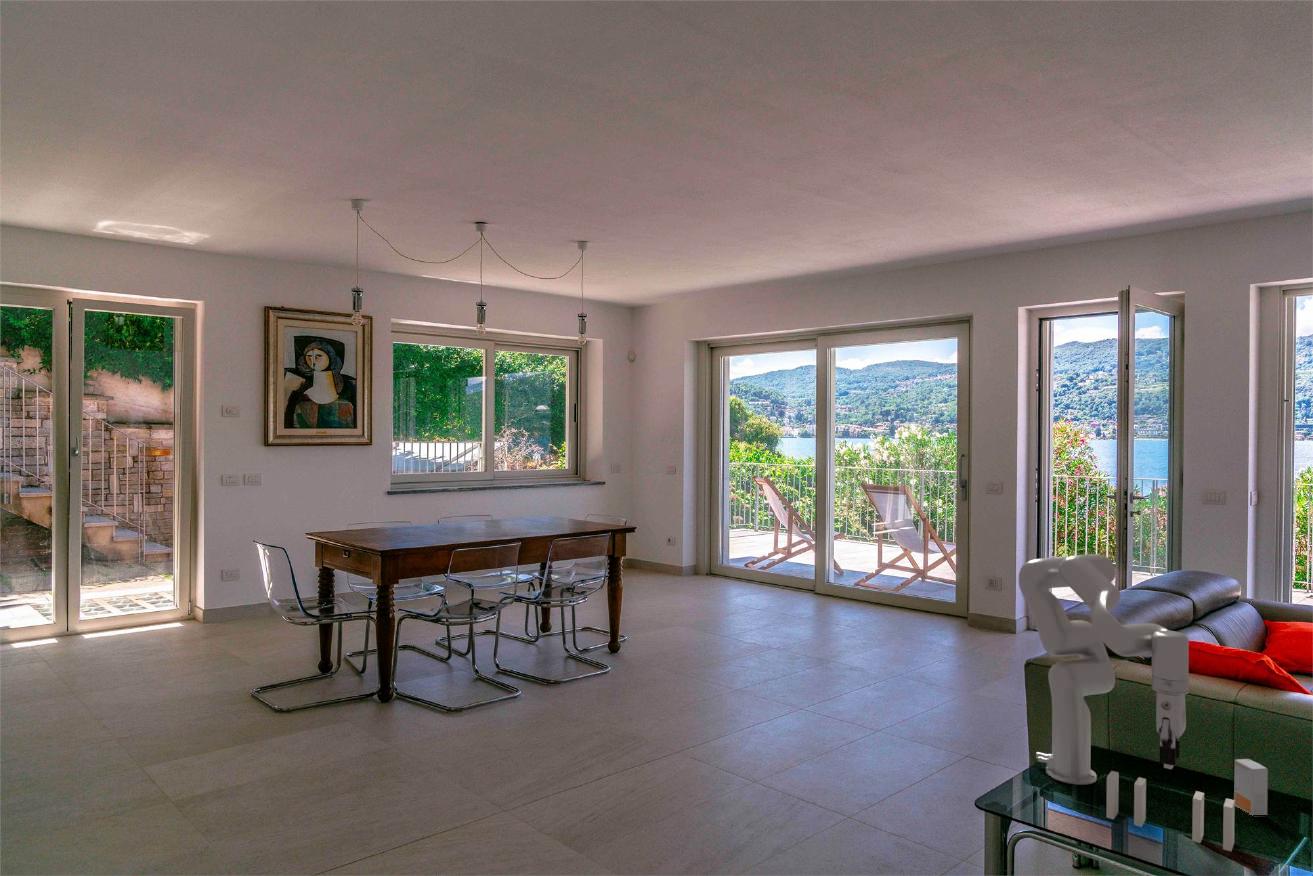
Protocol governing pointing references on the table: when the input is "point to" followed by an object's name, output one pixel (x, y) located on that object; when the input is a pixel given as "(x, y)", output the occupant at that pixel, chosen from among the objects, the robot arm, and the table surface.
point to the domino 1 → (1112, 794)
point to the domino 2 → (1140, 802)
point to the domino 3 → (1168, 764)
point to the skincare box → (1250, 787)
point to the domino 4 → (1198, 817)
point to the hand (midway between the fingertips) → (1169, 759)
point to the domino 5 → (1228, 824)
